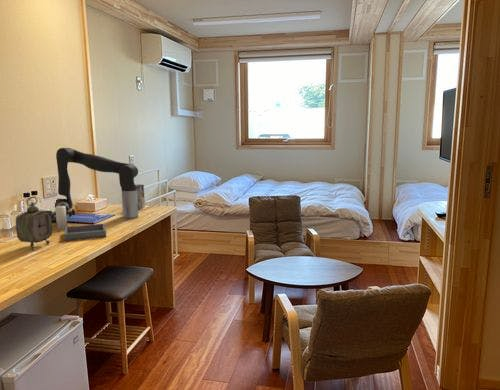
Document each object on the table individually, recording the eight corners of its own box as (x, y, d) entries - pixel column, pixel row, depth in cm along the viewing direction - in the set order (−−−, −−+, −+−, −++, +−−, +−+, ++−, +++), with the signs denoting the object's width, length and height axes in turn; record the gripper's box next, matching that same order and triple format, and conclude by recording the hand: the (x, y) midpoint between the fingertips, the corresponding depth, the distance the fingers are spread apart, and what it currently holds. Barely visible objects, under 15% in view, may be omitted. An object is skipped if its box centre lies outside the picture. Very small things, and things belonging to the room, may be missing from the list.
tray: (104, 229, 231) (104, 223, 230) (106, 236, 217) (105, 230, 217) (65, 233, 223) (65, 226, 223) (65, 241, 210) (64, 234, 209)
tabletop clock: (33, 252, 192) (28, 200, 188) (16, 250, 194) (11, 199, 189) (53, 243, 206) (49, 194, 201) (37, 241, 208) (33, 193, 203)
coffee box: (136, 206, 287) (134, 184, 284) (145, 207, 287) (144, 184, 284) (132, 209, 278) (130, 186, 275) (141, 210, 278) (140, 186, 275)
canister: (67, 227, 234) (65, 205, 231) (67, 230, 229) (65, 207, 227) (57, 228, 232) (55, 206, 230) (57, 230, 227) (55, 208, 225)
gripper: (48, 204, 243) (46, 210, 229) (74, 202, 249) (74, 208, 234) (49, 216, 245) (48, 223, 230) (75, 214, 250) (75, 221, 235)
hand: (61, 215), depth 232 cm, fingers open, 8 cm apart
